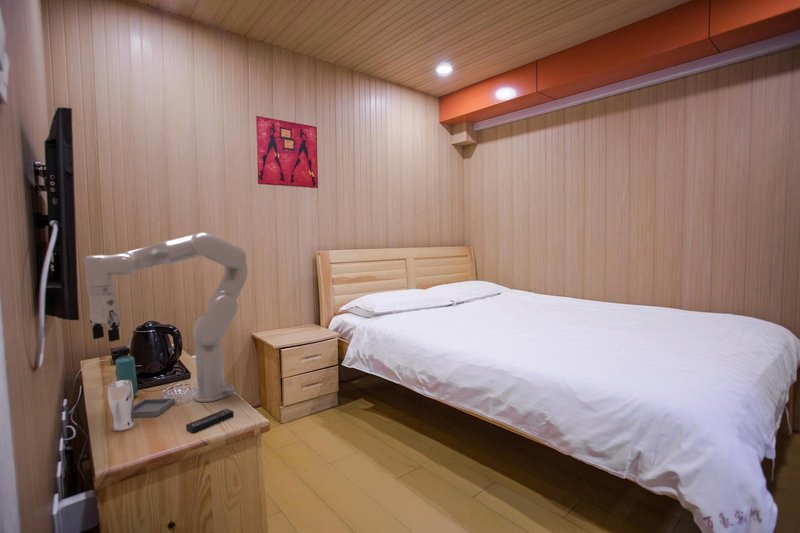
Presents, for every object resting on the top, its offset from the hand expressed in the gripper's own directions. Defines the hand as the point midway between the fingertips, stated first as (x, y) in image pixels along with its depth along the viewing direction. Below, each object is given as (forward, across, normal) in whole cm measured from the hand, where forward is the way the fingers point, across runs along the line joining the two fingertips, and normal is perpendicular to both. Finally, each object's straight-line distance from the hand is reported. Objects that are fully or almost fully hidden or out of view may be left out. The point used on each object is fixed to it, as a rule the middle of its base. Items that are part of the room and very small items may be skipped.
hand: (106, 339), depth 146 cm
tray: (+28, -7, -8) cm, 30 cm away
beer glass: (+28, -12, +4) cm, 31 cm away
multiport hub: (+29, -37, -10) cm, 48 cm away
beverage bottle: (+28, +12, -12) cm, 33 cm away
